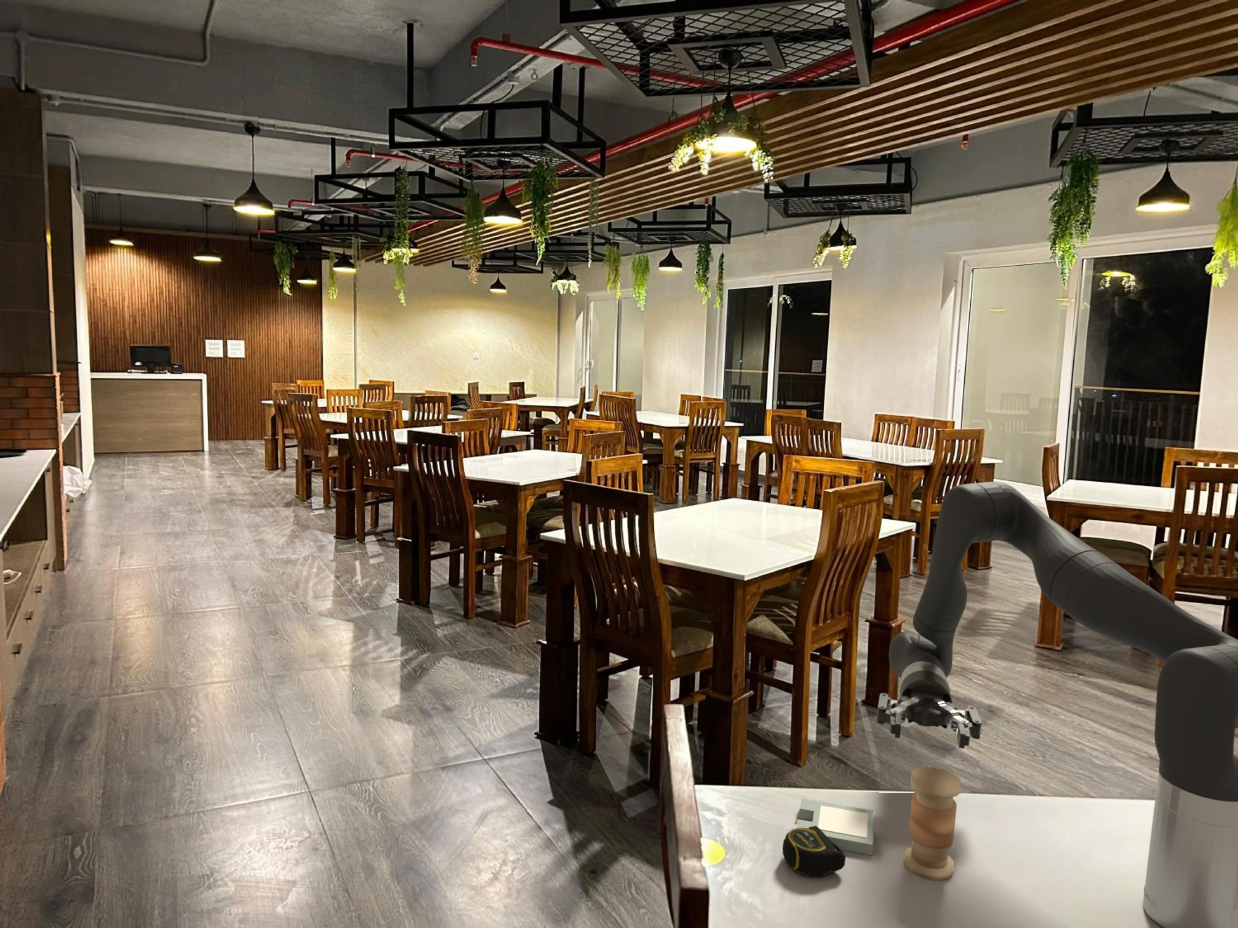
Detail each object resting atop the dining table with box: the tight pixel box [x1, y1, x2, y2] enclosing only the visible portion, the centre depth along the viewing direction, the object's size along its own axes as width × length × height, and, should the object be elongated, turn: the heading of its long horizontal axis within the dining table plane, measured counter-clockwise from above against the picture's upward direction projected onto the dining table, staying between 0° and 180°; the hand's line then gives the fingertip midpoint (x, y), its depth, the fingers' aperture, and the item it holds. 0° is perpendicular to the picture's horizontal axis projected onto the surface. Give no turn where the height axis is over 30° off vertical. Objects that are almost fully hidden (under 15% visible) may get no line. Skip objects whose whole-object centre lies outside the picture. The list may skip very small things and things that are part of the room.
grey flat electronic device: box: [795, 797, 875, 856], centre depth 120 cm, size 10×9×2 cm
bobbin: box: [903, 766, 962, 881], centre depth 111 cm, size 6×6×12 cm
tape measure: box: [782, 826, 846, 877], centre depth 111 cm, size 7×7×4 cm
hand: (930, 736), depth 121 cm, fingers open, 8 cm apart
